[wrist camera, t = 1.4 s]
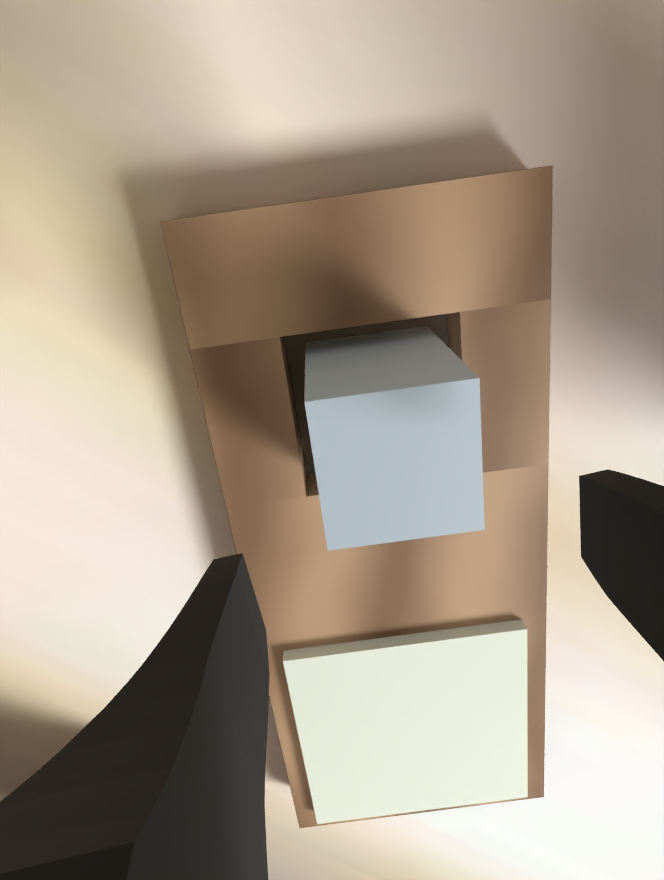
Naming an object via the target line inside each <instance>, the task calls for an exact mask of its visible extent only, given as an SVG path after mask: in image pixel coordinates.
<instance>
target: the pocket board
mask: <svg viewBox="0 0 664 880" xmlns="http://www.w3.org/2000/svg"><path fill="white" fill-rule="evenodd" d="M552 168H553V166H546V167H539V168H532V169H525V170H518V171H511V172H504V173H497V174H490V175H483V176H476V177H469V178H462V179H455V180H448V181H441V182H434V183H427V184H420V185H413V186H406V187H399V188H392V189H385V190H378V191H370V192H363V193H356V194H349V195H342V196H335V197H328V198H321V199H314V200H307V201H300V202H293V203H286V204H279V205H272V206H265V207H258V208H251V209H244V210H237V211H230V212H223V213H216V214H209V215H202V216H195V217H188V218H181V219H174V220H167V221H160V222H161V226H162V231H163V235H164V239H165V244H166V248H167V252H168V257H169V261H170V265H171V270H172V274H173V279H174V283H175V287H176V292H177V296H178V300H179V305H180V309H181V313H182V318H183V322H184V326H185V331H186V335H187V339H188V344H189V348H190V353H191V357H192V361H193V366H194V370H195V374H196V379H197V383H198V387H199V392H200V396H201V400H202V405H203V409H204V414H205V418H206V422H207V427H208V431H209V435H210V440H211V444H212V448H213V453H214V457H215V461H216V466H217V470H218V475H219V479H220V483H221V488H222V492H223V496H224V501H225V505H226V509H227V514H228V518H229V522H230V527H231V531H232V535H233V540H234V544H235V549H236V553H237V554H241V553H243V556H244V559H245V563H246V566H247V569H248V573H249V576H250V579H251V582H252V586H253V589H254V592H255V595H256V599H257V602H258V605H259V608H260V612H261V615H262V618H263V621H264V625H265V628H266V635H267V647H268V660H269V674H270V675H269V697H270V701H271V705H272V710H273V714H274V718H275V723H276V727H277V731H278V736H279V740H280V745H281V749H282V753H283V758H284V762H285V766H286V771H287V775H288V779H289V784H290V788H291V792H292V797H293V801H294V806H295V810H296V814H297V819H298V823H299V827H300V828H305V827H312V826H320V825H328V824H336V823H344V822H351V821H359V820H367V819H375V818H383V817H390V816H398V815H406V814H414V813H422V812H430V811H437V810H445V809H453V808H461V807H469V806H476V805H484V804H492V803H500V802H508V801H515V800H523V799H531V798H539V797H544V738H545V667H546V596H547V524H548V453H549V382H550V310H551V239H552ZM442 314H447V325H448V344H449V348H450V349H451V350H452V351H453V352H454V353H455V354H456V355H457V356H458V357H459V358H460V359H461V360H462V361H463V362H464V363H465V364H466V365H467V366H468V367H469V368H470V369H471V370H472V371H473V372H474V373H475V374H476V375H477V376H478V377H479V378H480V406H481V435H482V465H483V494H484V523H485V530H480V531H472V532H465V533H457V534H450V535H442V536H435V537H427V538H420V539H412V540H405V541H397V542H390V543H382V544H375V545H367V546H360V547H352V548H345V549H337V550H330V551H328V549H327V543H326V537H325V530H324V524H323V518H322V511H321V505H320V498H319V492H318V486H317V479H316V473H315V472H313V473H306V468H305V462H304V456H303V450H302V444H301V438H300V432H299V426H298V420H297V414H296V408H295V402H294V396H293V389H292V383H291V377H290V371H289V365H288V359H287V353H286V347H285V341H284V336H291V335H298V334H305V333H312V332H319V331H327V330H334V329H341V328H348V327H355V326H363V325H370V324H377V323H384V322H391V321H398V320H406V319H413V318H420V317H427V316H434V315H442ZM520 619H522V620H523V622H524V624H525V626H526V628H527V735H528V797H526V798H518V799H510V800H502V801H495V802H487V803H479V804H471V805H463V806H456V807H448V808H440V809H432V810H424V811H417V812H409V813H401V814H393V815H385V816H377V817H370V818H362V819H354V820H346V821H338V822H331V823H323V824H317V821H316V816H315V811H314V806H313V802H312V797H311V792H310V788H309V783H308V778H307V773H306V769H305V764H304V759H303V754H302V750H301V745H300V740H299V735H298V731H297V726H296V721H295V717H294V712H293V707H292V702H291V698H290V693H289V688H288V683H287V679H286V674H285V669H284V664H283V651H286V650H293V649H301V648H308V647H316V646H324V645H331V644H339V643H346V642H354V641H361V640H369V639H377V638H384V637H392V636H399V635H407V634H414V633H422V632H430V631H437V630H445V629H452V628H460V627H467V626H475V625H483V624H490V623H498V622H505V621H513V620H520Z"/></svg>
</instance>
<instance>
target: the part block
mask: <svg viewBox="0 0 664 880" xmlns="http://www.w3.org/2000/svg"><path fill="white" fill-rule="evenodd" d="M304 403H305V409H306V416H307V422H308V428H309V435H310V441H311V448H312V454H313V460H314V467H315V473H316V479H317V486H318V492H319V498H320V505H321V511H322V518H323V524H324V530H325V537H326V543H327V549H328V551H330V550H337V549H345V548H352V547H360V546H367V545H375V544H382V543H390V542H397V541H405V540H412V539H420V538H427V537H435V536H442V535H450V534H457V533H465V532H472V531H480V530H485V523H484V494H483V465H482V435H481V406H480V378H479V377H478V376H477V375H476V374H475V373H474V372H473V371H472V370H471V369H470V368H469V367H468V366H467V365H466V364H465V363H464V362H463V361H462V360H461V359H460V358H459V357H458V356H457V355H456V354H455V353H454V352H453V351H452V350H451V349H450V348H449V347H448V346H447V345H446V344H445V343H444V342H443V341H442V340H441V339H440V338H439V337H438V336H437V335H436V334H435V333H434V332H433V331H432V330H431V329H430V328H429V327H428V326H422V327H415V328H407V329H400V330H393V331H386V332H378V333H371V334H364V335H357V336H350V337H342V338H335V339H328V340H321V341H313V342H306V344H305V395H304Z"/></svg>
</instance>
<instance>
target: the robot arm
mask: <svg viewBox="0 0 664 880" xmlns="http://www.w3.org/2000/svg"><path fill="white" fill-rule="evenodd" d="M579 485H580V528H581V557H582V559H583V560H584V562H585V563H586V565H587V567H588V568H589V570H590V571H591V573H592V574H593V576H594V578H595V579H596V581H597V582H598V583H599V585H600V586H601V588H602V589H603V591H604V592H605V594H606V595H607V596H608V598H609V599H610V600H611V601H612V602H613V604H614V605H615V606H616V607H617V608H618V609H619V611H620V612H621V613H622V614H623V615H624V616H625V617H626V619H627V620H628V621H629V622H630V623H631V624H632V626H633V627H634V628H635V629H636V630H637V631H638V632H639V633H640V635H641V636H642V637H643V638H644V639H645V640H646V641H647V643H648V644H649V645H650V646H651V647H652V648H653V649H654V650H655V652H656V653H657V654H658V655H659V656H660V657H661V658H662V660H663V661H664V486H661V485H658V484H655V483H652V482H649V481H646V480H643V479H640V478H637V477H633V476H630V475H627V474H623V473H620V472H616V471H611V470H604V471H599V472H595V473H590V474H586V475H582V476H579ZM269 675H270V674H269V660H268V647H267V635H266V628H265V625H264V621H263V618H262V615H261V612H260V608H259V605H258V602H257V599H256V595H255V592H254V589H253V586H252V582H251V579H250V576H249V573H248V569H247V566H246V563H245V559H244V556H243V553H241V554H236V555H232V556H227V557H223V558H219V559H214V560H213V561H212V563H211V564H210V566H209V567H208V569H207V570H206V572H205V574H204V575H203V577H202V578H201V580H200V582H199V583H198V585H197V586H196V588H195V590H194V591H193V593H192V594H191V596H190V598H189V599H188V601H187V602H186V604H185V605H184V607H183V608H182V610H181V612H180V613H179V615H178V616H177V618H176V619H175V621H174V622H173V624H172V625H171V627H170V628H169V629H168V631H167V632H166V634H165V635H164V636H163V638H162V639H161V640H160V642H159V643H158V645H157V646H156V647H155V649H154V650H153V651H152V653H151V654H150V655H149V657H148V658H147V659H146V661H145V662H144V663H143V664H142V666H141V667H140V668H139V669H138V671H137V672H136V673H135V674H134V675H133V677H132V678H131V679H130V680H129V681H128V682H127V684H126V685H125V686H124V687H123V688H122V689H121V690H120V691H119V692H118V694H117V695H116V696H115V697H114V698H113V699H112V700H111V701H110V702H109V704H108V705H107V706H106V707H105V708H104V709H103V710H102V711H101V712H100V713H99V714H98V715H97V716H96V717H95V718H94V719H93V720H92V721H91V722H90V723H89V724H88V725H87V726H86V727H84V728H83V729H82V730H81V731H80V732H79V733H78V734H77V735H76V736H75V737H74V738H73V739H72V740H71V741H70V742H69V743H68V744H67V745H66V746H65V747H64V748H63V749H62V750H61V751H60V752H59V753H57V754H56V755H55V756H54V757H53V758H52V759H51V760H50V761H48V762H47V763H46V764H45V765H44V766H43V767H42V768H40V769H39V770H38V771H37V772H36V773H35V774H33V775H32V776H31V777H30V778H29V779H27V780H26V781H25V782H24V783H23V784H21V785H20V786H19V787H18V788H17V789H15V790H14V791H13V792H12V793H11V794H9V795H8V796H7V797H6V798H4V799H3V800H2V801H1V802H0V880H268V869H267V850H266V829H265V807H264V798H265V763H266V742H267V722H268V700H269Z"/></svg>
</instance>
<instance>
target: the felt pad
mask: <svg viewBox="0 0 664 880" xmlns="http://www.w3.org/2000/svg"><path fill="white" fill-rule="evenodd" d="M283 664H284V669H285V674H286V679H287V683H288V688H289V693H290V698H291V702H292V707H293V712H294V717H295V721H296V726H297V731H298V735H299V740H300V745H301V750H302V754H303V759H304V764H305V769H306V773H307V778H308V783H309V788H310V792H311V797H312V802H313V806H314V811H315V816H316V821H317V824H323V823H331V822H338V821H346V820H354V819H362V818H370V817H377V816H385V815H393V814H401V813H409V812H417V811H424V810H432V809H440V808H448V807H456V806H463V805H471V804H479V803H487V802H495V801H502V800H510V799H518V798H526V797H528V735H527V628H526V626H525V624H524V622H523V620H522V619H520V620H513V621H505V622H498V623H490V624H483V625H475V626H467V627H460V628H452V629H445V630H437V631H430V632H422V633H414V634H407V635H399V636H392V637H384V638H377V639H369V640H361V641H354V642H346V643H339V644H331V645H324V646H316V647H308V648H301V649H293V650H286V651H283Z"/></svg>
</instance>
